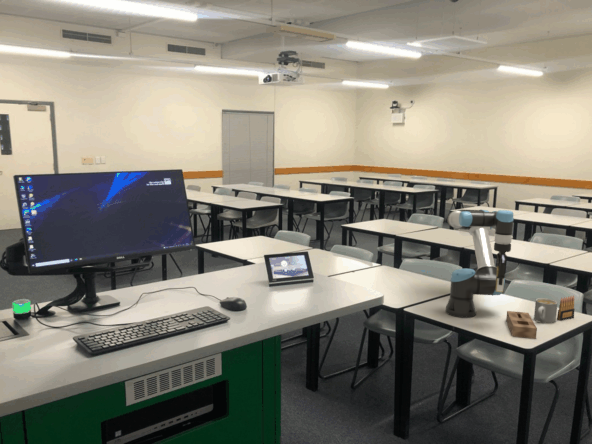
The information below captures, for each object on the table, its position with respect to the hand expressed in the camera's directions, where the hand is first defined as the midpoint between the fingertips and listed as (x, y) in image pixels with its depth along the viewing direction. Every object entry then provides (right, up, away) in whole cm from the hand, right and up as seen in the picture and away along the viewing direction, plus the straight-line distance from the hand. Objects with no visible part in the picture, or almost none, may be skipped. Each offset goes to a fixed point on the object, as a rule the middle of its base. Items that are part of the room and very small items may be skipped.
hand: (499, 289), depth 244 cm
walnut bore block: (+10, -19, -1) cm, 22 cm away
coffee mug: (+27, -17, +11) cm, 34 cm away
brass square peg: (0, -1, 0) cm, 1 cm away
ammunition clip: (+40, -17, +14) cm, 46 cm away
